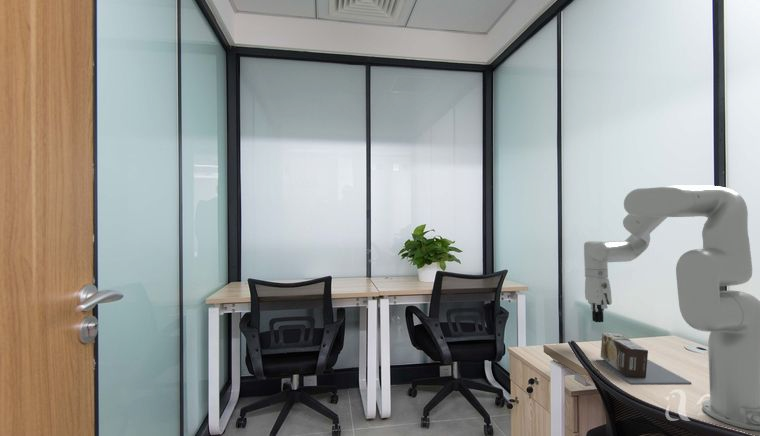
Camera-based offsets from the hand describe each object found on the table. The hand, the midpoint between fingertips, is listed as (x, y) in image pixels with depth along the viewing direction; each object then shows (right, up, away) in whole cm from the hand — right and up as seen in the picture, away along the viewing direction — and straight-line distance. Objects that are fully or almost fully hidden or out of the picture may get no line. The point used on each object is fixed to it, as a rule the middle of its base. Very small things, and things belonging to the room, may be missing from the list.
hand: (598, 321), depth 133 cm
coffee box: (0, -6, -8) cm, 10 cm away
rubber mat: (+3, -11, -18) cm, 21 cm away
